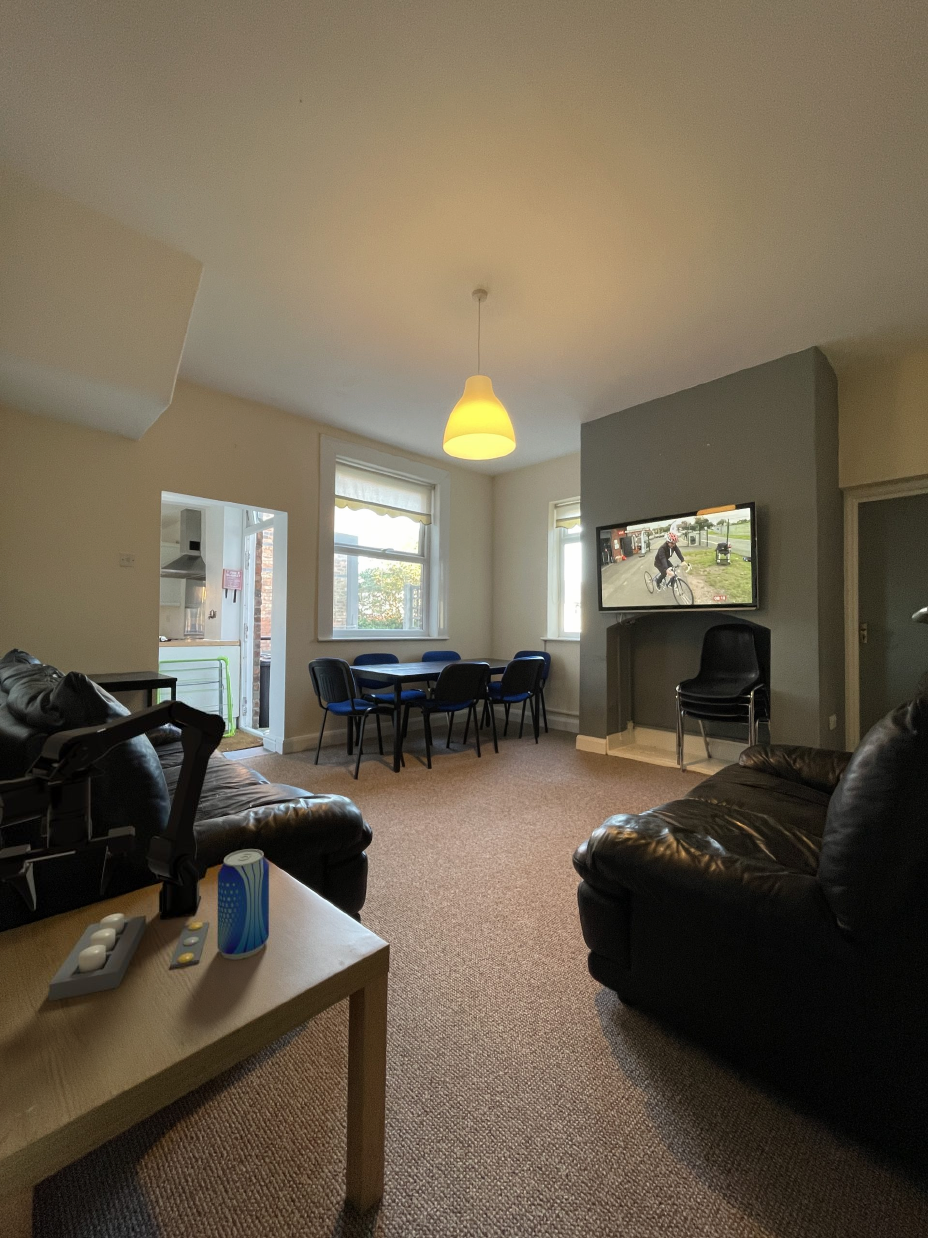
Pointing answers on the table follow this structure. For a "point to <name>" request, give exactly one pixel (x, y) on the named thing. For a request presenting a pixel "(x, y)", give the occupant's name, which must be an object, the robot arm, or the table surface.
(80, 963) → the button
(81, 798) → the robot arm
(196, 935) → the pattern tile
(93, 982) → the button board
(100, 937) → the button mid
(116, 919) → the button
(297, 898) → the table surface
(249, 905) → the beer can
